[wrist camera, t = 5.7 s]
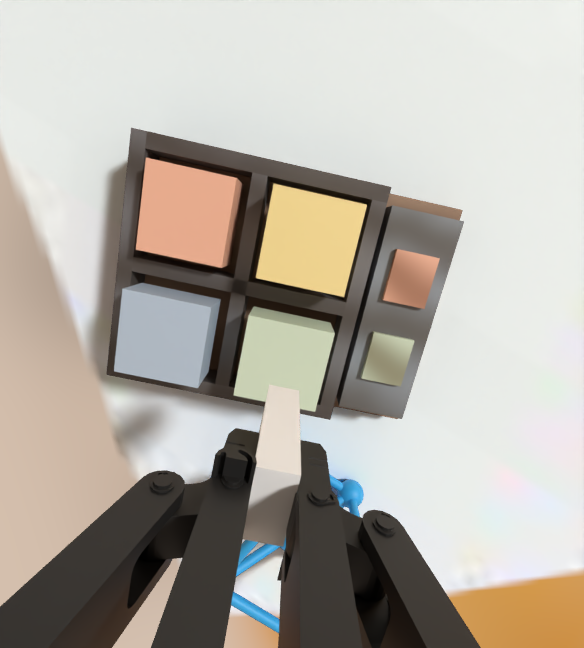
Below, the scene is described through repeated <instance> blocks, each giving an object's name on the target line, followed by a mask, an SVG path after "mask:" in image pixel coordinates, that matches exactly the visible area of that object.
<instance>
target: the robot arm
mask: <svg viewBox="0 0 584 648" xmlns="http://www.w3.org/2000/svg"><path fill="white" fill-rule="evenodd" d="M285 538H286V548H285V552H284V556H283V560H282V563H281V567H280V571H279V575H278V579H277V580H280V581H281V598H280V620H279V642H278V648H480V646H479V644H478V643H477V641H476V640H475V638H474V637H473V635H472V634H471V632H470V630H469V629H468V627H467V626H466V624H465V623H464V621H463V620H462V618H461V616H460V615H459V613H458V612H457V610H456V609H455V607H454V605H453V604H452V602H451V601H450V599H449V598H448V596H447V594H446V593H445V591H444V590H443V588H442V587H441V585H440V583H439V582H438V580H437V579H436V577H435V576H434V574H433V573H432V571H431V569H430V568H429V566H428V565H427V563H426V562H425V560H424V559H423V557H422V555H421V554H420V552H419V551H418V549H417V548H416V546H415V544H414V543H413V541H412V540H411V538H410V537H409V535H408V534H407V532H406V530H405V529H404V527H403V526H402V525H401V524H400V522H399V521H398V520H397V519H395V518H394V517H393V516H391V515H390V514H388V513H385V512H383V511H378V510H371V511H367V512H366V513H365V514H364V515H363V518H361V517H358V516H356V515H354V514H352V513H350V512H348V511H346V510H344V509H343V508H342V507H340V505H339V501H338V498H337V496H336V495H335V494H334V493H333V492H332V490H331V483H330V476H329V469H328V462H327V455H326V451H325V450H324V449H323V447H322V446H321V445H320V444H317V443H312V442H307V441H302V440H300V401H299V390H294V389H289V388H284V387H279V386H274V385H269V388H268V393H267V397H266V402H265V407H264V411H263V416H262V421H261V425H260V430H259V433H257V432H252V431H247V430H242V429H237V428H236V429H234V430H233V431H232V432H230V433H229V435H228V437H227V440H226V443H225V446H224V448H223V449H221V450H219V451H218V452H217V453H216V455H215V460H214V465H213V470H212V476H211V478H210V479H208V480H207V481H205V482H201V483H197V484H185V482H184V480H183V478H182V477H181V476H180V475H178V474H176V473H175V472H170V471H156V472H152V473H149V474H147V475H146V476H144V477H143V478H142V479H141V480H139V481H138V482H137V483H136V484H135V485H134V486H133V487H132V488H131V489H130V490H129V491H127V492H126V493H125V494H124V495H123V496H122V497H121V498H120V499H119V500H117V501H116V502H115V503H114V504H113V505H112V506H111V507H110V508H109V509H108V510H106V511H105V512H104V513H103V514H102V515H101V516H100V517H99V518H98V519H97V520H95V521H94V522H93V523H92V524H91V525H90V526H89V527H88V528H87V529H85V530H84V531H83V532H82V533H81V534H80V535H79V536H78V537H77V538H76V539H74V540H73V542H71V543H70V544H69V545H68V546H67V547H66V548H65V549H64V550H62V551H61V552H60V553H59V554H58V555H57V556H56V557H55V558H53V559H52V560H51V561H50V562H49V563H48V564H47V565H46V566H45V567H43V569H41V570H40V571H39V572H38V573H37V574H36V575H35V576H34V577H33V578H31V579H30V580H29V581H28V582H27V583H26V584H25V585H24V586H23V587H21V588H20V589H19V590H18V591H17V592H16V593H15V594H14V595H13V596H12V597H10V598H9V599H8V600H7V601H6V602H5V603H4V604H3V605H2V606H0V648H112V647H113V645H114V644H115V642H116V641H117V639H118V638H119V637H120V635H121V634H122V632H123V631H124V629H125V628H126V627H127V625H128V624H129V622H130V621H131V620H132V618H133V617H134V615H135V614H136V612H137V611H138V610H139V608H140V607H141V605H142V604H143V602H144V601H145V600H146V598H147V597H148V595H149V594H150V592H151V591H152V590H153V588H154V587H155V585H156V583H157V582H158V581H159V579H160V578H161V577H162V575H163V574H164V572H165V571H166V569H167V568H168V567H169V565H170V563H171V561H172V559H174V558H183V559H182V561H181V564H180V567H179V570H178V573H177V576H176V578H175V581H174V584H173V587H172V590H171V593H170V595H169V599H168V601H167V604H166V607H165V610H164V612H163V615H162V618H161V621H160V624H159V627H158V629H157V632H156V635H155V638H154V641H153V644H152V646H151V648H223V647H224V641H225V636H226V630H227V625H228V619H229V613H230V608H231V602H232V596H233V591H234V585H235V579H236V573H237V568H238V562H239V556H240V551H241V545H242V539H244V540H249V541H255V542H260V543H265V544H271V545H276V546H281V547H283V546H284V542H285Z"/></svg>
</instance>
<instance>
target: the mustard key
mask: <svg viewBox="0 0 584 648" xmlns="http://www.w3.org/2000/svg"><path fill="white" fill-rule="evenodd" d="M366 207H367V205H366V204H362V203H357V202H353V201H348V200H344V199H340V198H335V197H331V196H326V195H322V194H317V193H313V192H309V191H304V190H300V189H295V188H291V187H286V186H282V185H278V184H274V185H273V190H272V195H271V200H270V206H269V211H268V216H267V221H266V227H265V232H264V237H263V242H262V248H261V253H260V258H259V263H258V269H257V274H256V278H258V279H262V280H267V281H272V282H276V283H281V284H286V285H290V286H295V287H300V288H304V289H309V290H314V291H318V292H323V293H327V294H332V295H337V296H341V297H344V295H345V291H346V287H347V283H348V279H349V275H350V271H351V267H352V263H353V259H354V255H355V251H356V247H357V243H358V239H359V235H360V231H361V227H362V223H363V219H364V215H365V211H366Z"/></svg>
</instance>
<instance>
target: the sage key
mask: <svg viewBox="0 0 584 648" xmlns="http://www.w3.org/2000/svg"><path fill="white" fill-rule="evenodd" d="M334 335H335V333H334V330H333V328H332V325H331V323H330V322H325V321H320V320H316V319H311V318H306V317H302V316H297V315H292V314H287V313H283V312H278V311H273V310H269V309H264V308H259V307H253V309H252V310H251V312H250V314H249V316H248V321H247V326H246V332H245V337H244V342H243V347H242V353H241V358H240V363H239V368H238V374H237V379H236V384H235V389H234V396H239V397H244V398H249V399H254V400H259V401H263V402H266V397H267V393H268V388H269V385H274V386H279V387H284V388H289V389H294V390H299V401H300V409H303V410H308V411H313V412H315V410H316V406H317V402H318V399H319V395H320V391H321V387H322V383H323V379H324V375H325V371H326V367H327V363H328V359H329V355H330V351H331V347H332V343H333V339H334Z"/></svg>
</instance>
